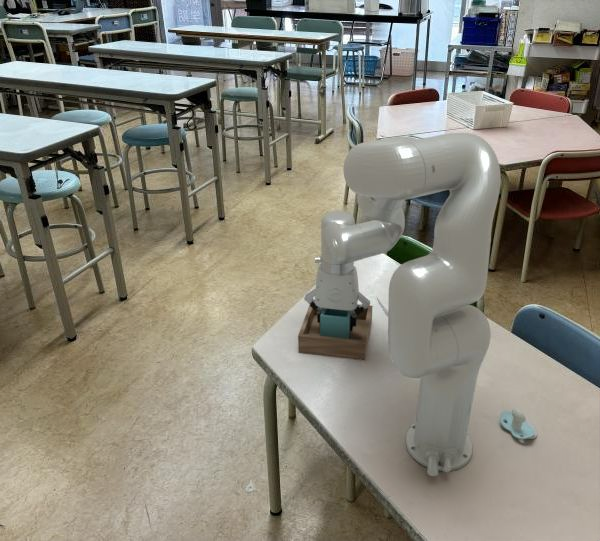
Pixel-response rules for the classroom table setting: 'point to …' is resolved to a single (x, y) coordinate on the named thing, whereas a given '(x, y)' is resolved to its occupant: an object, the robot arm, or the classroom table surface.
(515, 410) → the pacifier
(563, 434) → the classroom table surface
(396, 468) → the classroom table surface
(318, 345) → the big crate
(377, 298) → the magic wand
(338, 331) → the small crate
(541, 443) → the classroom table surface
